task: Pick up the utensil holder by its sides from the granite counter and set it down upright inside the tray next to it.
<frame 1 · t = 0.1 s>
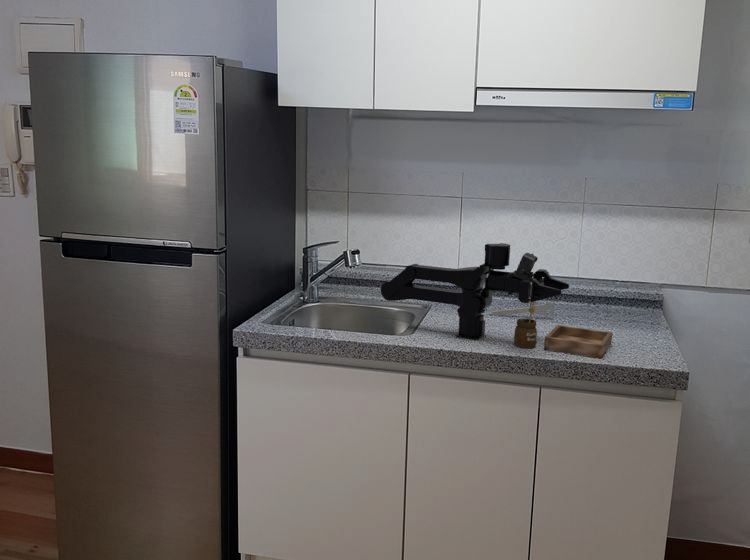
hand: (565, 289, 192), 17 cm above the worktop, tool horizontal, fingers open, 9 cm apart
tray: (578, 347, 198), on the worktop
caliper: (520, 318, 230), on the worktop
utensil holder: (525, 346, 199), on the worktop
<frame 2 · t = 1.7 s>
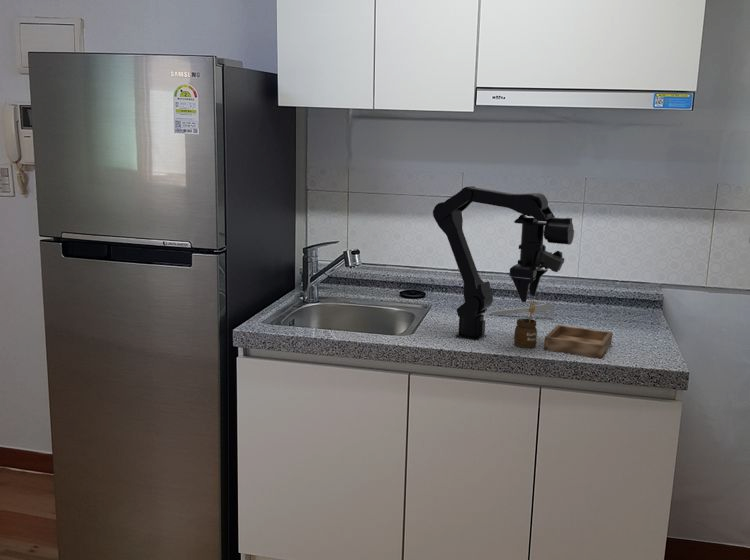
hand: (528, 298, 196), 13 cm above the worktop, tool pointing down, fingers open, 9 cm apart
nothing on the worktop moved.
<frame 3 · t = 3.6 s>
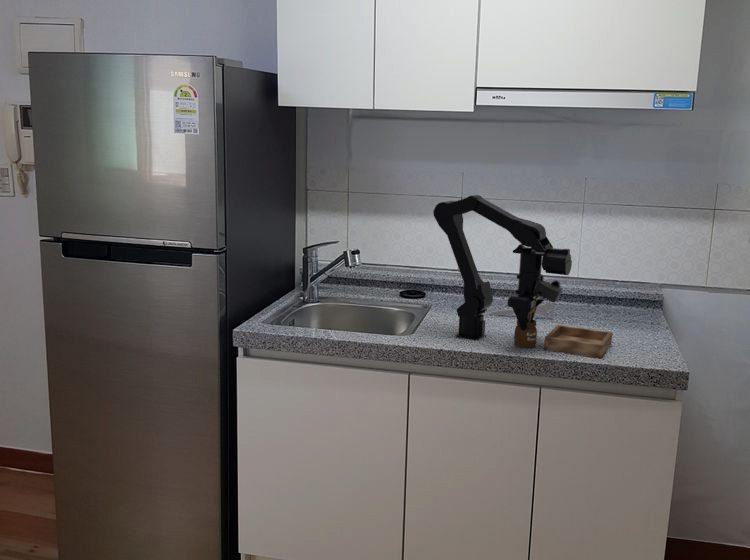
hand: (526, 327, 198), 5 cm above the worktop, tool pointing down, fingers closed on utensil holder, 5 cm apart
utensil holder: (525, 346, 199), on the worktop, touching gripper
everything else where it was.
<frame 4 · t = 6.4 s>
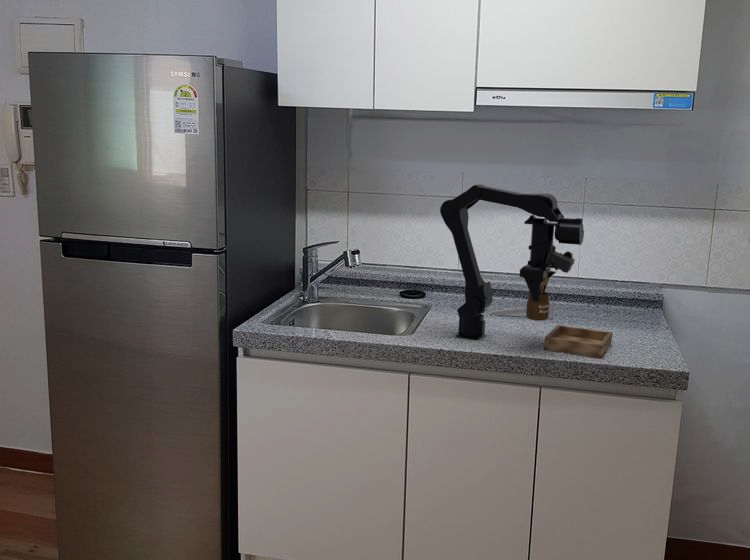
hand: (538, 299, 196), 13 cm above the worktop, tool pointing down, fingers closed on utensil holder, 5 cm apart
utensil holder: (537, 318, 197), point 8 cm above the worktop, touching gripper
everything else where it was.
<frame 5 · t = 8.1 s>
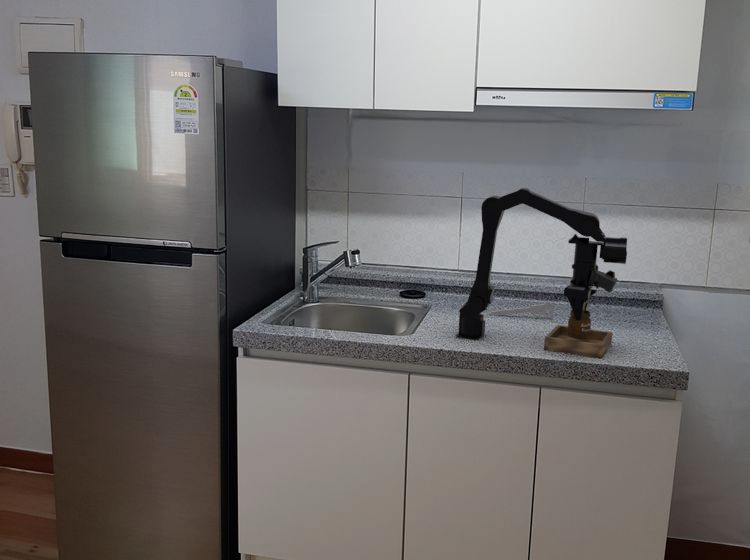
hand: (580, 317, 197), 8 cm above the worktop, tool pointing down, fingers closed on utensil holder, 5 cm apart
utensil holder: (578, 337, 198), point 3 cm above the worktop, touching gripper
everything else where it was.
when the fingers open (7 cm above the worktop, at t = 9.2 s): utensil holder stays where it is, resting on tray.
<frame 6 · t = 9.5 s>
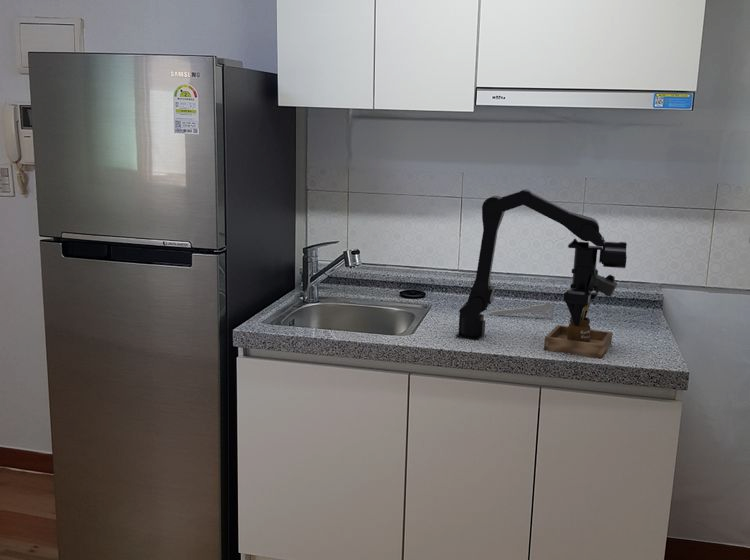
hand: (580, 322, 197), 7 cm above the worktop, tool pointing down, fingers open, 8 cm apart
utensil holder: (578, 344, 198), point 1 cm above the worktop, touching tray
everything else where it was.
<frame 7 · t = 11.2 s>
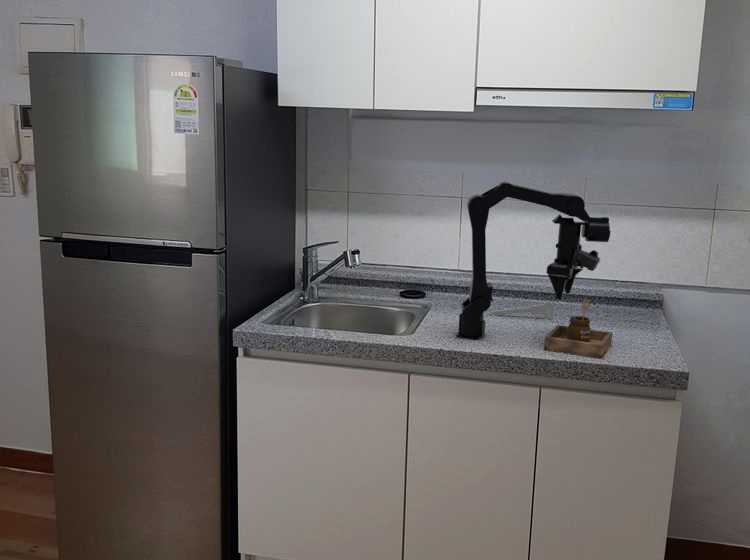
hand: (563, 296, 202), 13 cm above the worktop, tool pointing down, fingers open, 9 cm apart
nothing on the worktop moved.
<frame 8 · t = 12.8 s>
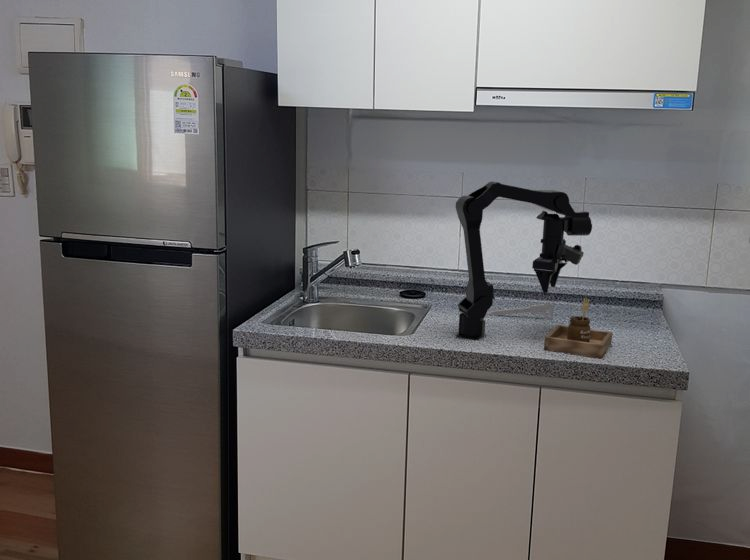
hand: (549, 289, 208), 13 cm above the worktop, tool pointing down, fingers open, 9 cm apart
nothing on the worktop moved.
at the end: utensil holder inside the target area on the tray (0.3 cm from its centre), point 0.8 cm above the tray's base; utensil holder tilted 0°; the gripper is holding nothing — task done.
